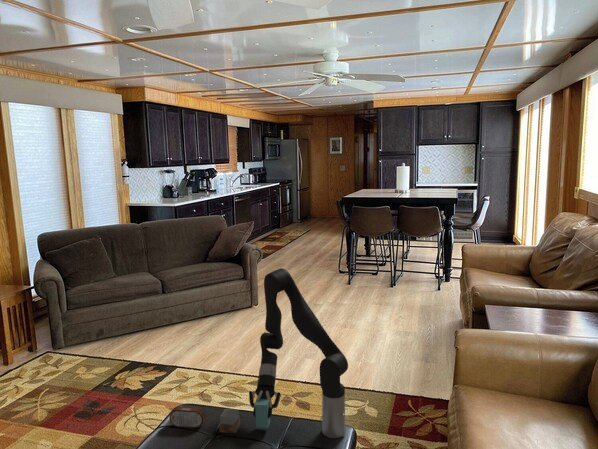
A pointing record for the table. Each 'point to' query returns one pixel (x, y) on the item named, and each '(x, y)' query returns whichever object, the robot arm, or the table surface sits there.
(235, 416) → the tower top
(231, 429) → the tower base
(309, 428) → the table surface
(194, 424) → the tin
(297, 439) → the table surface
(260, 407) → the block
